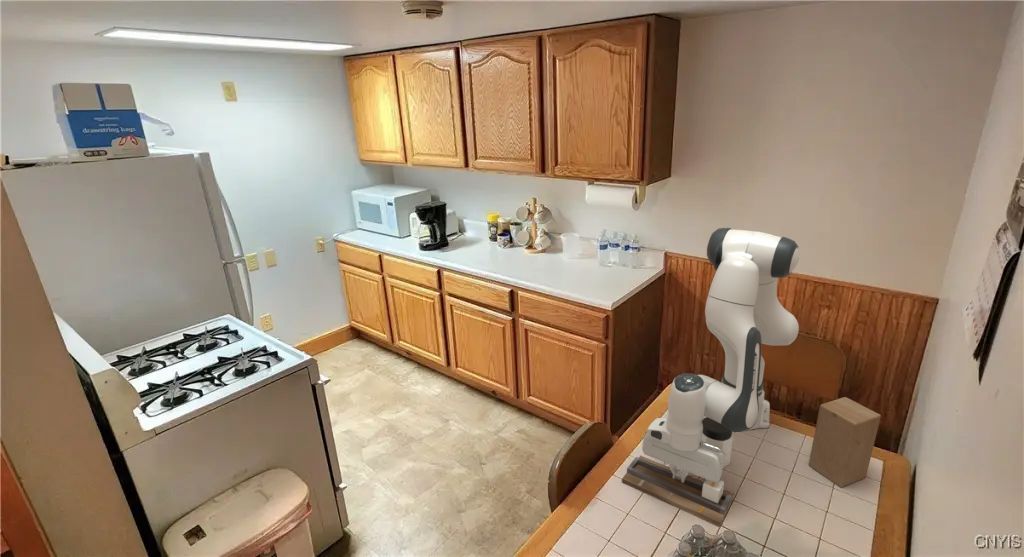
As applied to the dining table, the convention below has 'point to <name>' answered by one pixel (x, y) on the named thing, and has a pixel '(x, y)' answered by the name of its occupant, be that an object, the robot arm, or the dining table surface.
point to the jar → (718, 437)
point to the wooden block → (843, 441)
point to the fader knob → (712, 490)
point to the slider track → (675, 489)
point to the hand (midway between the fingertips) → (678, 479)
